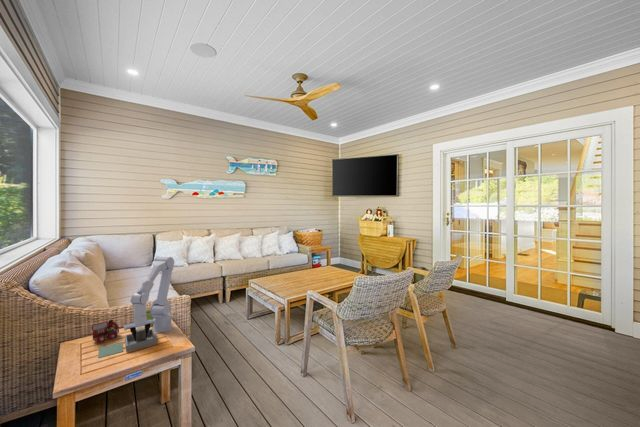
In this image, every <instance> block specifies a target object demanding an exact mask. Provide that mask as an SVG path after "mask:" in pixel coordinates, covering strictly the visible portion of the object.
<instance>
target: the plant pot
mask: <svg viewBox="0 0 640 427" xmlns="http://www.w3.org/2000/svg"><path fill="white" fill-rule="evenodd" d="M152 319H153V317H152V315H151V314H150V309H148V310H146V320H152ZM150 325H151V327H153V324H150Z"/></svg>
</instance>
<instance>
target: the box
mask: <svg viewBox="0 0 640 427" xmlns="http://www.w3.org/2000/svg"><path fill="white" fill-rule="evenodd" d="M145 340H146V331H145V326H141V327H136V343H137V342H141V341H145Z"/></svg>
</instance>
